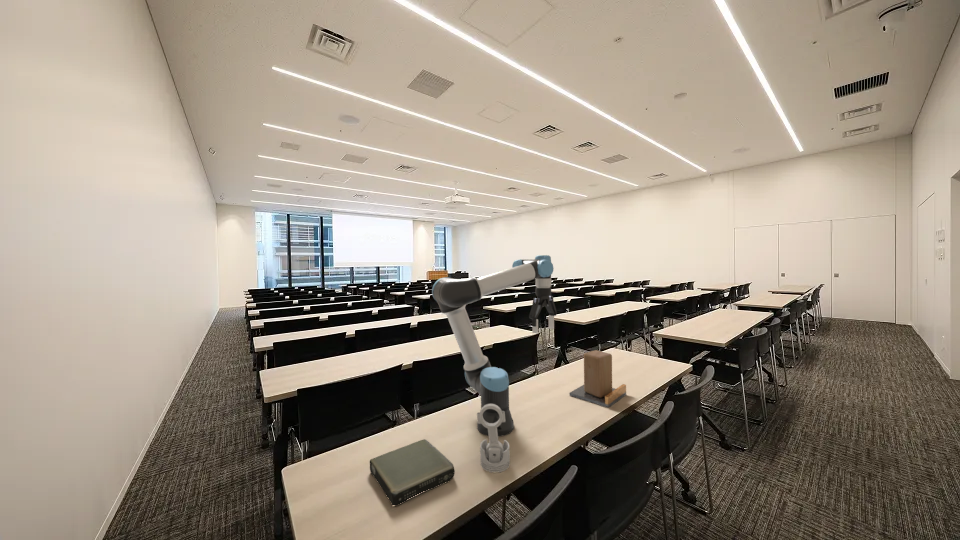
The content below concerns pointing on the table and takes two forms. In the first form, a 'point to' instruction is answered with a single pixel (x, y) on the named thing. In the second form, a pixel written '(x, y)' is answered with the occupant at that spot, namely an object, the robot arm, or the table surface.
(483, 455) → the engine component
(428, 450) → the network switch
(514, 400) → the table surface
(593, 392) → the wooden block
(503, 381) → the robot arm
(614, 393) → the mounting plate
